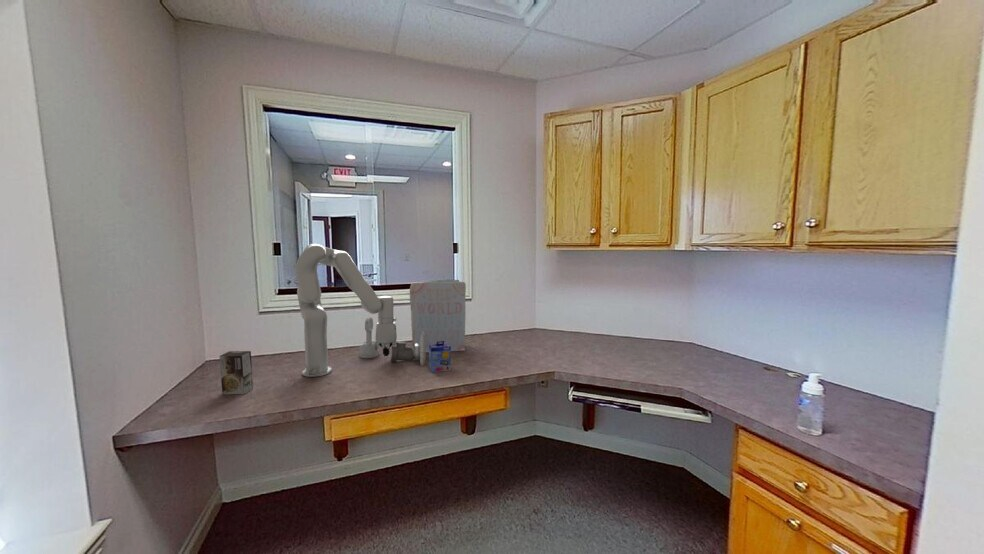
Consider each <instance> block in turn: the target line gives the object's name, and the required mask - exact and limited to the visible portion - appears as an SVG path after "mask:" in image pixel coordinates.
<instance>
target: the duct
mask: <svg viewBox="0 0 984 554" xmlns="http://www.w3.org/2000/svg"><path fill="white" fill-rule="evenodd" d="M426 353H427V352H426V344H425V331H422V334H421V336H420V343H415V344H414V359H413V361H414V362H420V363H419V365H420V366H424V364H425V360H426V356H427V355H426Z"/></svg>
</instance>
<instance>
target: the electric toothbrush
mask: <svg viewBox="0 0 984 554" xmlns="http://www.w3.org/2000/svg"><path fill="white" fill-rule="evenodd" d="M373 329H374V319H373V318H372V317H369V316H368V317H366V318H365V322H364V331H365V332H366V333H365V334H366V340H365V341H364V342H363V344H361V345H359V349H358V351H359V352H358V353H359V355H358V356H359V357H360V358H363V359H371V358H376V357H378V356H379V351H380V350H379V345H376V344H375V342H376V340H375V341H374V340H372V339H373V338H372V336H373V335H372V334H373V332H372V331H373Z"/></svg>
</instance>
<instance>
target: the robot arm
mask: <svg viewBox="0 0 984 554" xmlns="http://www.w3.org/2000/svg"><path fill="white" fill-rule="evenodd" d="M320 264H321V265H324V266H329V267H332V268H333V267H334V268H335V270H336V271H337V272H338V274H339V275H340V277H341V278H342V280H343V281H344V283H345V285H347V287H348V289H350V290H351V291H352V292H353V293H354V294H355V295H356V297H358V299H359V300H360V306H361V308H362V309H363V310H364V311H366V312H367V313H369V314H372V315H375V314H377V322H376V326H375V336H374V339H375V341H376V342H375V344H376V345H378V346H380V348H381V349H382V355H383V357H388V356H389V355H390V348H392V346H396V345H397V344H396V342H398V341H397V336H398V335H397V333H398V332H397V324H396V321H397V317H395V316H394V298H393V296H390V295H382V296H378V295H377V294H376V292H375V290H374V289H373V288H372V286H371V285H370V284H369V282H368V281H367V279H365V277H364V276H363V273H362V272H361V271H360V269H359V268H358V266H357V265H356V263H355V262H354V260H353V258H352V256H351V255H349V253H348V252H347V251H345V250H338V249H334V248H330V247H327V246H323V245H322V244H318V243H310V244H307V245H306V246H305V247H304V248H303V251H302V252H301V253H300V255H299V257H298V259H297V261H296V264H295V267H296V268H295V271H296V279H297V283H298V286H297V290H296V294H297V295H296V296H297V300H298V301H297V302H298V304H299V309H300V313H301V314H300V315H301V318H302V319H303V323H304V325H303V326H304V328H303V330H304V331H303V333H304V334H303V335H304V336H303V337H304V339H303V340H304V356H305V357H304V359H305V369H303V370H302V372H301V375H302V376H304V377H307V378H313V377H314V378H315V377H323V376H326V375H328V374H331V372H332V370H333V369H332V367H331V366H329V362H328V361H329V360H328V357H329V356H328V352H329V351H328V314H327V310H325V309H324V308H323V307H322V301H321V297H322V289H321V285H320V282H319V281H320V280H319V276H318V275H319V273H318V266H319V265H320Z"/></svg>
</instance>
